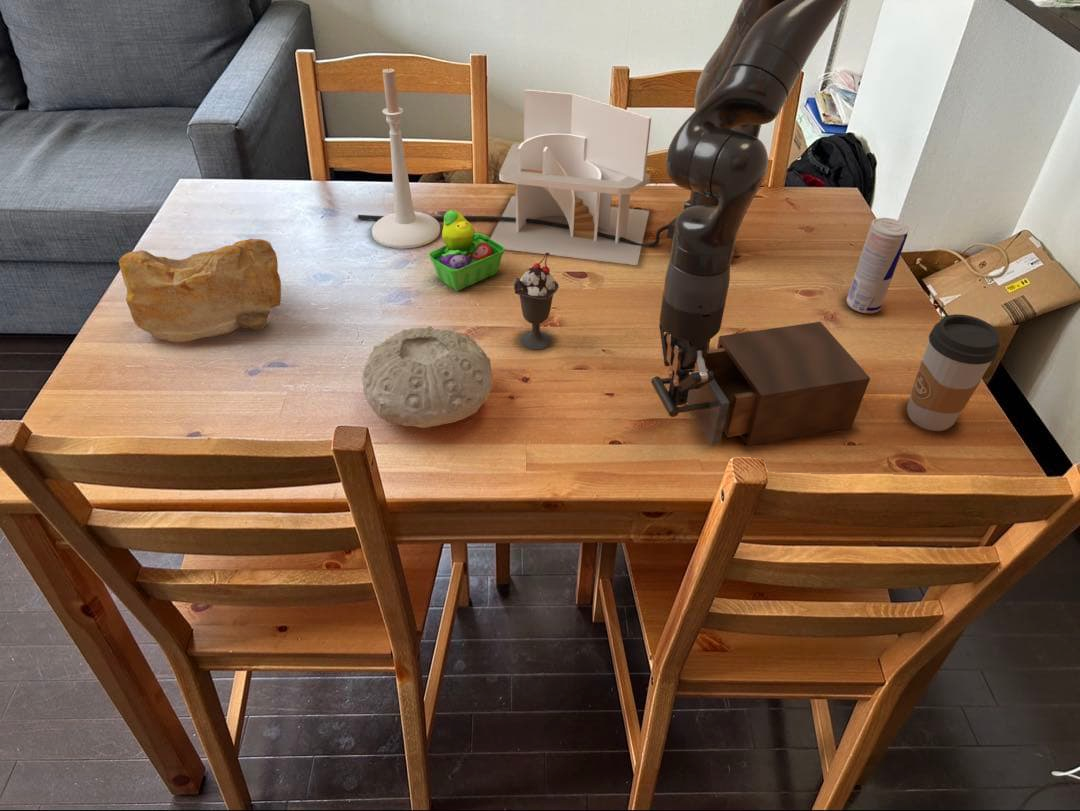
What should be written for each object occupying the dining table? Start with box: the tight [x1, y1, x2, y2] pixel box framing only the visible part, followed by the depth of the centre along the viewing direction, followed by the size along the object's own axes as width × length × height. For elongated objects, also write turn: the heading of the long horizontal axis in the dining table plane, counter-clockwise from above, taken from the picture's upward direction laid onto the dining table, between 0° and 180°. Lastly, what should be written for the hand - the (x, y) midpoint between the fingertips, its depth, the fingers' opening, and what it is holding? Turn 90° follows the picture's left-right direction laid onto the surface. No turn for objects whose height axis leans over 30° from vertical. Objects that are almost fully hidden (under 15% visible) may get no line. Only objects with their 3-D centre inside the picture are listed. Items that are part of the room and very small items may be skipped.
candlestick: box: [371, 66, 441, 250], centre depth 139 cm, size 13×13×30 cm
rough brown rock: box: [118, 238, 282, 343], centre depth 123 cm, size 23×17×15 cm
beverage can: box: [846, 217, 910, 314], centre depth 127 cm, size 6×6×15 cm
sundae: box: [513, 253, 560, 351], centre depth 118 cm, size 7×7×15 cm
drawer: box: [650, 347, 758, 446], centre depth 107 cm, size 20×12×7 cm, turn 104°
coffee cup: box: [906, 314, 1001, 432], centre depth 106 cm, size 8×8×15 cm
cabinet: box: [716, 321, 871, 448], centre depth 109 cm, size 16×13×9 cm
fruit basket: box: [428, 209, 506, 292], centre depth 133 cm, size 11×9×11 cm
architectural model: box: [489, 89, 652, 266], centre depth 142 cm, size 28×21×23 cm
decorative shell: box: [361, 326, 493, 429], centre depth 108 cm, size 18×18×10 cm
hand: (676, 402), depth 106 cm, fingers closed
